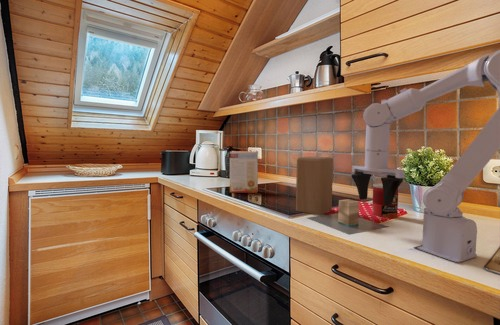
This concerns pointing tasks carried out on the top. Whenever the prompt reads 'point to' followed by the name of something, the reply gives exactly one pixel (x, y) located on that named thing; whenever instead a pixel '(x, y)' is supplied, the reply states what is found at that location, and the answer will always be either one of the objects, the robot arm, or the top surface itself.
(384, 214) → the canned food
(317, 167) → the block
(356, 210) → the beech block
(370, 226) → the slate board
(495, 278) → the top surface
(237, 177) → the cracker box
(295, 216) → the top surface
